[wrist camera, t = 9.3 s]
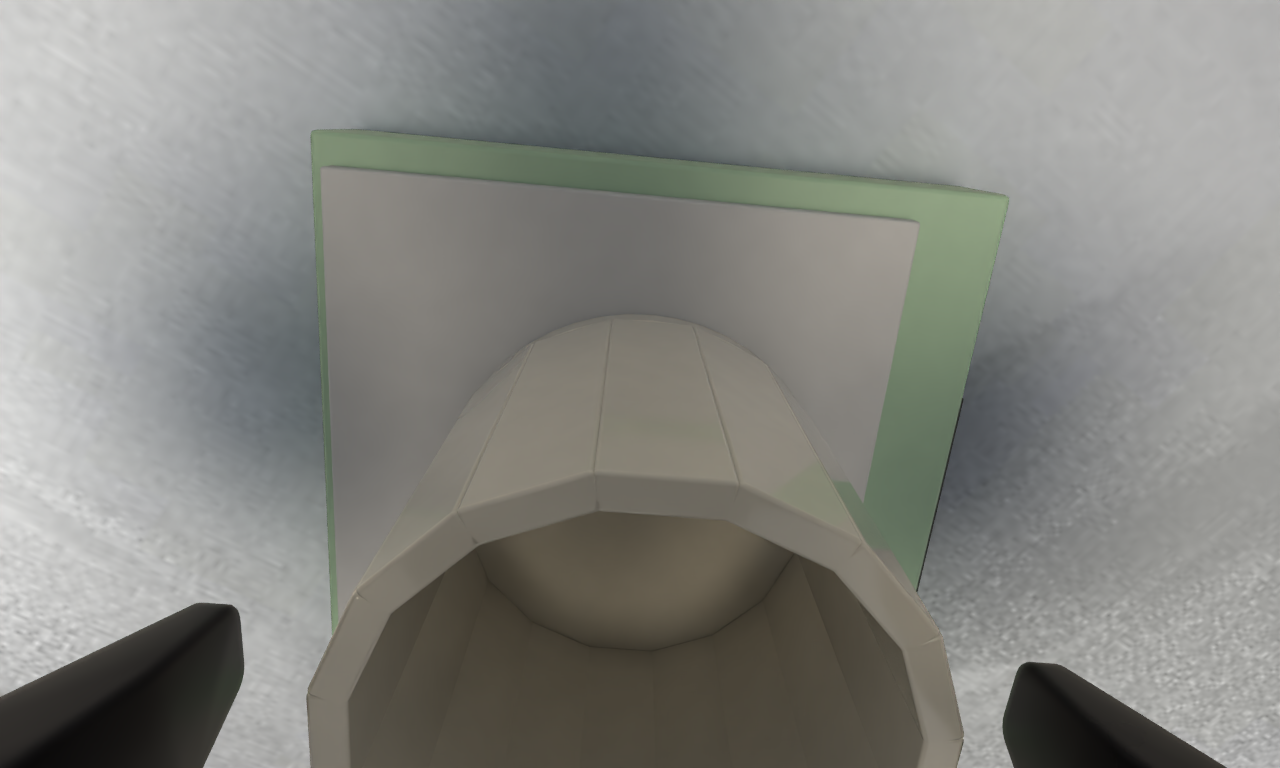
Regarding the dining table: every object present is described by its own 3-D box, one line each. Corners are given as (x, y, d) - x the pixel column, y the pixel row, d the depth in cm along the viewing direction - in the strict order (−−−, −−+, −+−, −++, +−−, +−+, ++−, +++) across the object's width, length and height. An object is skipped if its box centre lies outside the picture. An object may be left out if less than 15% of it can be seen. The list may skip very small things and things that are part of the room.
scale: (860, 681, 17) (894, 765, 15) (367, 646, 17) (325, 727, 15) (969, 187, 14) (1035, 199, 12) (353, 128, 14) (296, 128, 11)
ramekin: (789, 660, 14) (889, 1008, 9) (447, 635, 14) (320, 977, 8) (849, 330, 12) (1032, 504, 7) (451, 296, 12) (289, 446, 6)
